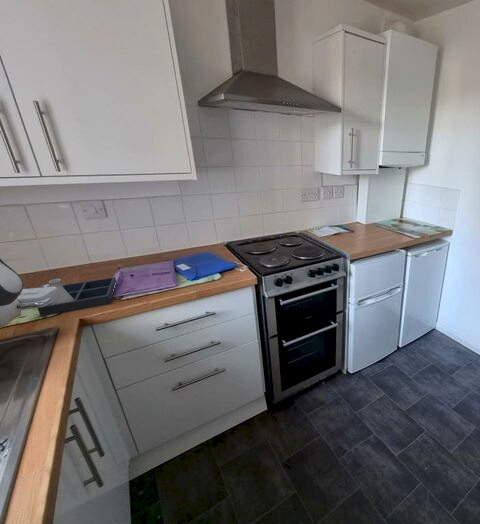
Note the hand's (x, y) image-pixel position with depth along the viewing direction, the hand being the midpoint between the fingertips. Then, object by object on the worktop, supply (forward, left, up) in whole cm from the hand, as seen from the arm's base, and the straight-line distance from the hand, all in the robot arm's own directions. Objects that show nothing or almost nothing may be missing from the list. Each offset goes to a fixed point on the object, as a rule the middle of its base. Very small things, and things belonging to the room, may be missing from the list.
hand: (29, 287), depth 94 cm
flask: (+3, +12, -13) cm, 18 cm away
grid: (+7, +16, -14) cm, 22 cm away
